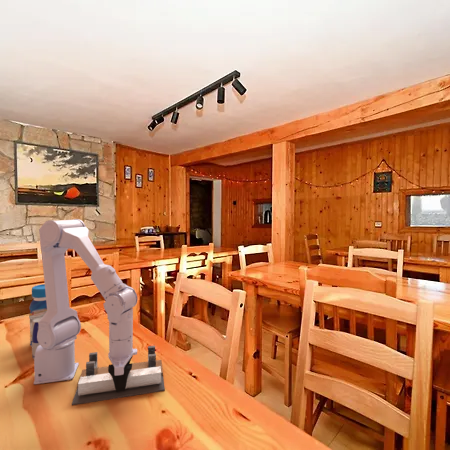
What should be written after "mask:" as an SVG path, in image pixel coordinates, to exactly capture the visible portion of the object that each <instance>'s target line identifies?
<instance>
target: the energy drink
mask: <svg viewBox="0 0 450 450" xmlns="http://www.w3.org/2000/svg"><path fill="white" fill-rule="evenodd" d="M42 317H43V316H41V317H37V318H34V319H33V320H32V347H31V356H32V359H33V360H34V357H35V352H36V349H37V347H38V346H39V345H40V344H39V343H38V340H37V333H38V329H39V324H38V322H39V321H40V319H41V318H42Z"/></svg>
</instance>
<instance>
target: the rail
mask: <svg viewBox="0 0 450 450" xmlns="http://www.w3.org/2000/svg"><path fill="white" fill-rule="evenodd" d="M79 378H80V380H79V379H78V381H79V383H78V382H77V384H78V396H80V395H86V394H93V393H100V392H106V391H113V390H116V389H115V385H114V381H113V378H112V376H111V375H110V373H106V374H99V375H91V376H84V377H80V376H79ZM160 383H161V366H159V367H151V368H144V369H136V370H131V371H130V372H129V375H128V378H127V383H126V388H133V387H140V386H146V385H153V384H160ZM126 388H125V389H126Z"/></svg>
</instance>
